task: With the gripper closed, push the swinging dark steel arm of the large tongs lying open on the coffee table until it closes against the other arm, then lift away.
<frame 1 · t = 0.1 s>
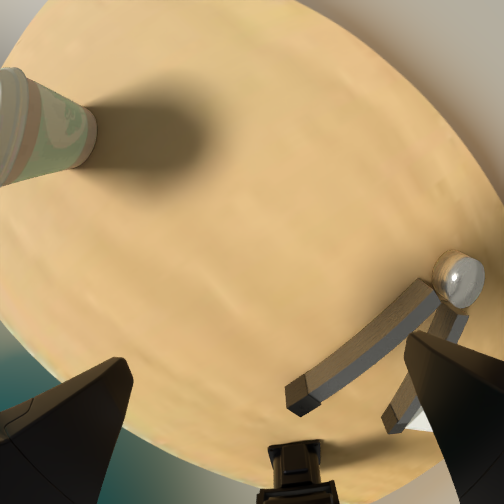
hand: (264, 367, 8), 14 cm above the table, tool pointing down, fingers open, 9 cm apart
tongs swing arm: (392, 342, 21), point 2 cm above the table, hinge at -35.0°
coffee cup: (74, 137, 20), on the table
external hard drive: (443, 405, 27), on the table
tongs fixed arm: (446, 271, 21), on the table
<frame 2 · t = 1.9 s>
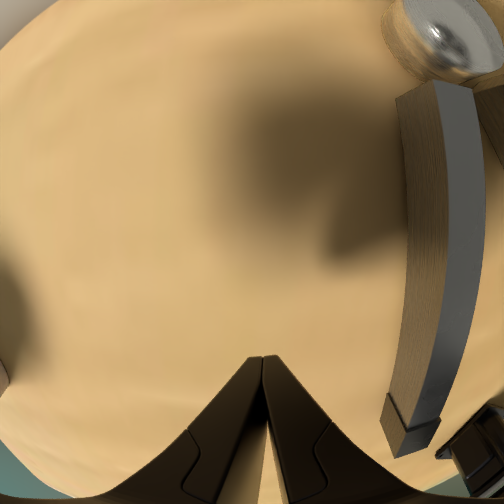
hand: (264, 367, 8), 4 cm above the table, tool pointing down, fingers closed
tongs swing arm: (471, 240, 8), point 2 cm above the table, hinge at -35.0°
tongs fixed arm: (420, 47, 8), on the table
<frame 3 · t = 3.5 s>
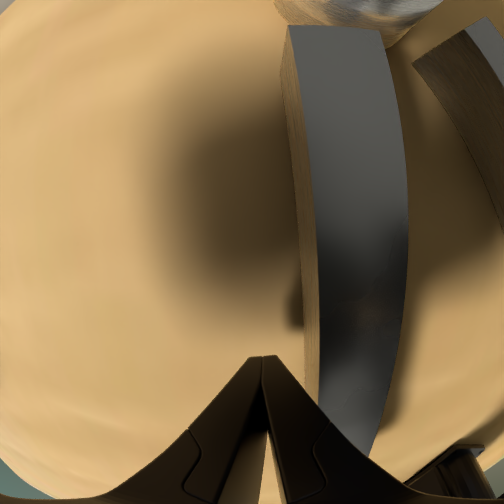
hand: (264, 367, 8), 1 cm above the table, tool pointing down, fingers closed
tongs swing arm: (398, 277, 6), point 2 cm above the table, hinge at -35.0°, touching gripper
tongs fixed arm: (337, 7, 6), on the table
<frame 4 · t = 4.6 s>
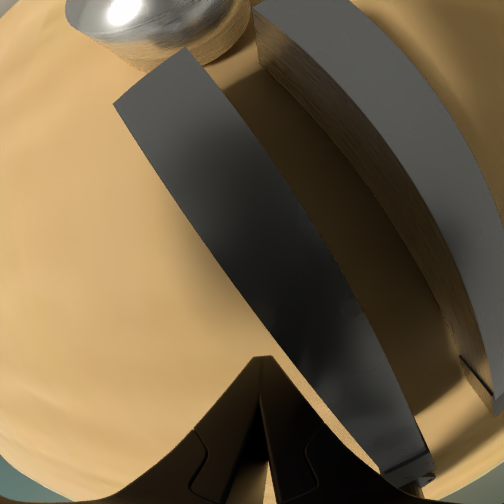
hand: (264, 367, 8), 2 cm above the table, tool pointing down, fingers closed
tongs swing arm: (349, 251, 6), point 2 cm above the table, hinge at -7.0°, touching gripper
tongs fixed arm: (185, 25, 7), on the table
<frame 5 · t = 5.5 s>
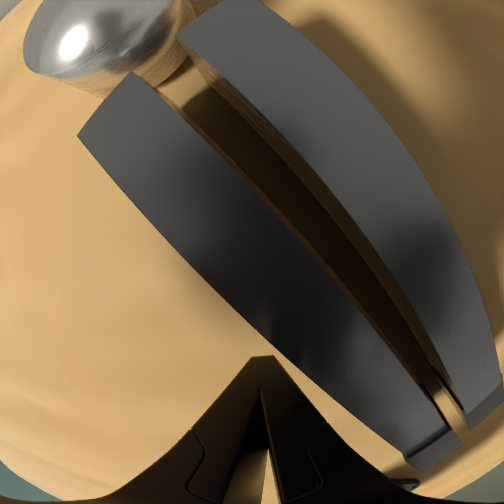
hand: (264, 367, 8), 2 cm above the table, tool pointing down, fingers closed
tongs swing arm: (325, 236, 6), point 2 cm above the table, hinge at 1.2°, touching gripper
tongs fixed arm: (139, 47, 7), on the table
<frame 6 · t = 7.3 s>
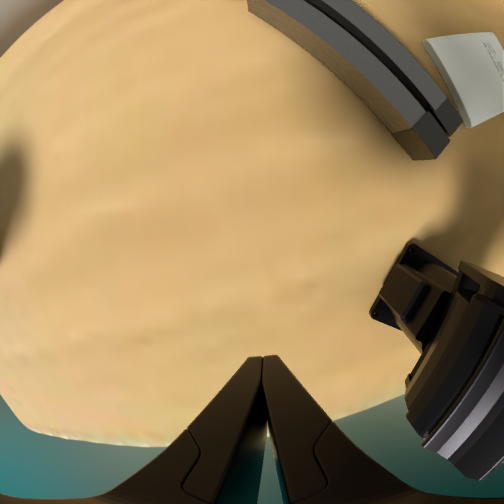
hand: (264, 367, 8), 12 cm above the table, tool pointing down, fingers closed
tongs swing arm: (331, 25, 13), point 2 cm above the table, hinge at 1.3°
external hard drive: (476, 75, 15), on the table
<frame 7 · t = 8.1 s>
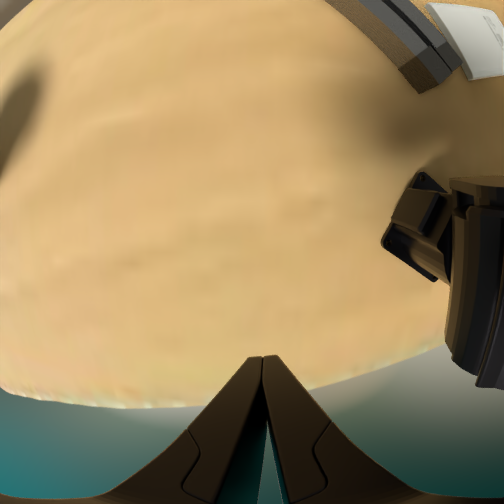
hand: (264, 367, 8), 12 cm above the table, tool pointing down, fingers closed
external hard drive: (477, 42, 13), on the table
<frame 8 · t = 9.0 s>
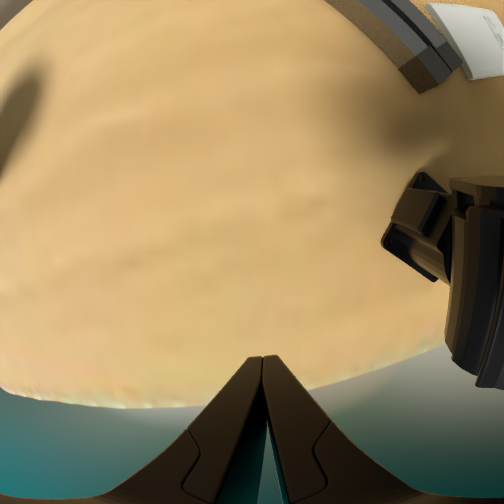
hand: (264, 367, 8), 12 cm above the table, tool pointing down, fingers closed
external hard drive: (477, 42, 13), on the table
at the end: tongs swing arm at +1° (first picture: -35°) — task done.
